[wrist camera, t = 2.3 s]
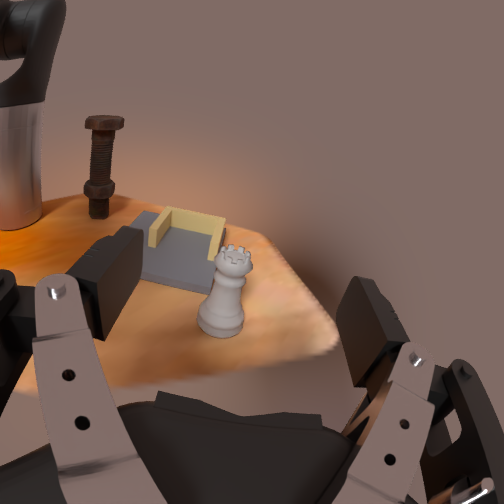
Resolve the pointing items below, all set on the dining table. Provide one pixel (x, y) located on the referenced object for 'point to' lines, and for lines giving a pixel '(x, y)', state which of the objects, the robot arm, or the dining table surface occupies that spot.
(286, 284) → the dining table surface
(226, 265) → the rook chess piece
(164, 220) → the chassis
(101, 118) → the bolt
